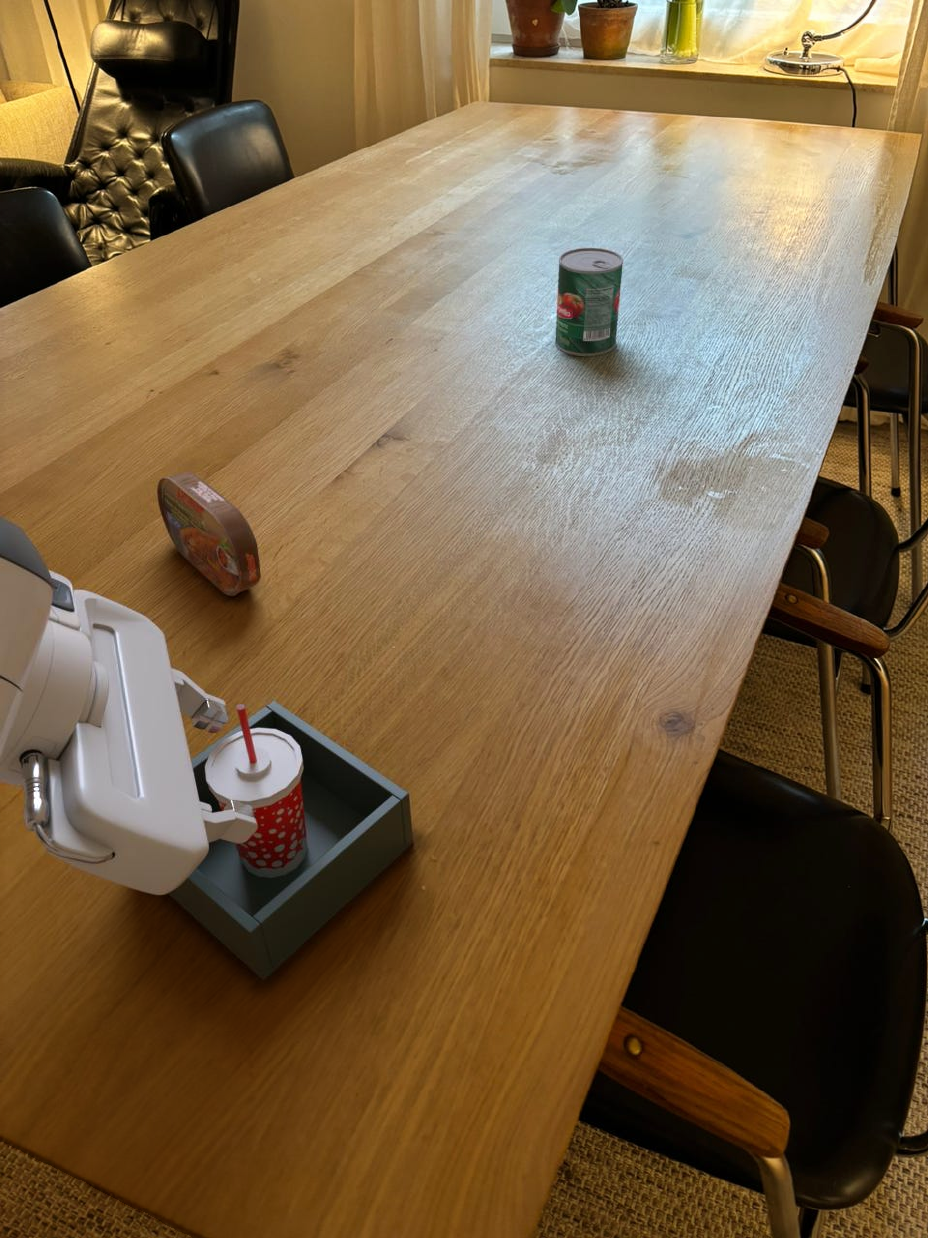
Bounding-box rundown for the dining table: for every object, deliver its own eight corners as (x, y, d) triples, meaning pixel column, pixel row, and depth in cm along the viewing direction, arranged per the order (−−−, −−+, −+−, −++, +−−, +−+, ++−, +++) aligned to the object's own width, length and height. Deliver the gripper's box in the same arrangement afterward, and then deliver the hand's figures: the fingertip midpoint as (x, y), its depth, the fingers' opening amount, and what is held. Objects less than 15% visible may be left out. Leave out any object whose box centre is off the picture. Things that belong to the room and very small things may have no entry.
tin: (164, 539, 97) (145, 464, 92) (193, 526, 99) (175, 453, 93) (243, 613, 88) (226, 536, 83) (273, 598, 90) (259, 521, 84)
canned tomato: (542, 342, 129) (545, 258, 122) (583, 324, 133) (589, 242, 126) (587, 362, 124) (592, 276, 117) (628, 343, 128) (636, 258, 121)
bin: (263, 981, 61) (250, 933, 58) (134, 862, 68) (114, 813, 65) (413, 842, 69) (409, 793, 66) (283, 748, 76) (273, 699, 72)
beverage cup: (234, 817, 71) (195, 674, 61) (320, 811, 71) (295, 668, 62) (224, 891, 66) (181, 748, 57) (316, 884, 66) (288, 741, 57)
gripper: (62, 801, 44) (304, 867, 53) (43, 551, 59) (235, 634, 68) (-10, 891, 46) (236, 940, 55) (-11, 626, 61) (183, 698, 70)
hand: (235, 769), depth 62 cm, fingers open, 8 cm apart
